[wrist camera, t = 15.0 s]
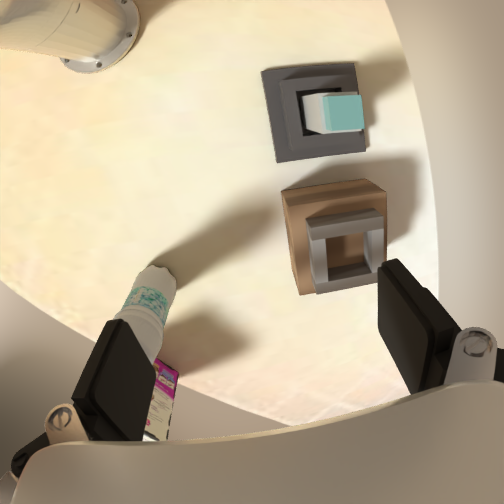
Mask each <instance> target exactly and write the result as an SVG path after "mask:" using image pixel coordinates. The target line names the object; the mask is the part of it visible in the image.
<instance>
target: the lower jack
mask: <svg viewBox="0 0 504 504" xmlns="http://www.w3.org/2000/svg"><path fill="white" fill-rule="evenodd" d="M261 77H262V82H263V88H264V93H265V99H266V104H267V110H268V115H269V121H270V127H271V133H272V139H273V145H274V151H275V157H276V162H277V163H282V162H288V161H295V160H302V159H309V158H316V157H324V156H331V155H340V154H348V153H357V152H366V148H365V138H364V129H361V131H354V132H340V133H327V134H321V133H318V132H315V131H312V130H308V129H305V128H303V122H302V115H301V107H300V100H299V97H302V96H307V95H312V94H317V93H332V92H357V94H358V95H359V91H358V84H357V78H356V72H355V66H354V63H353V64H330V65H315V66H303V67H293V68H284V69H276V70H268V71H261Z"/></svg>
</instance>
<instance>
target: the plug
mask: <svg viewBox="0 0 504 504" xmlns="http://www.w3.org/2000/svg"><path fill="white" fill-rule="evenodd" d="M299 100H300V107H301V115H302V122H303V128H305V129H308V130H312V131H315V132H318V133H321V134H327V133H340V132H354V131H361V129H365V127H364V116H363V107H362V98H361V95H358V94H357V92H332V93H317V94H312V95H307V96H302V97H299Z"/></svg>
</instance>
